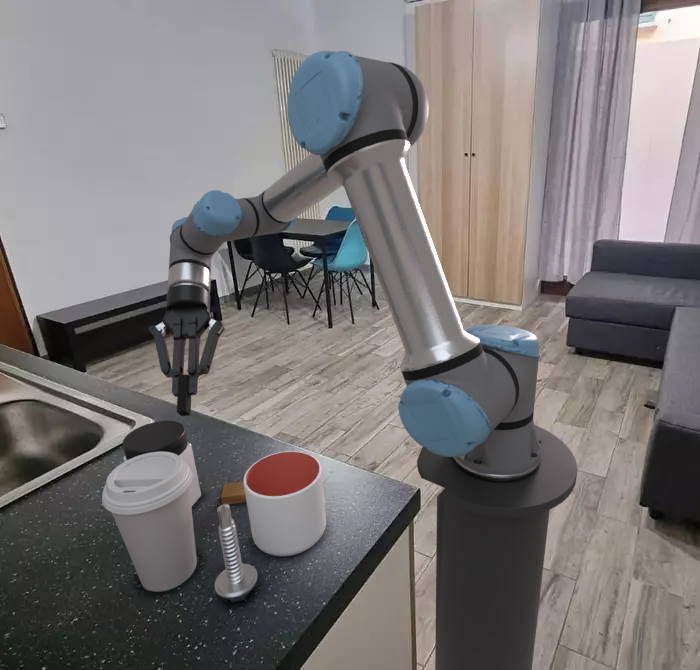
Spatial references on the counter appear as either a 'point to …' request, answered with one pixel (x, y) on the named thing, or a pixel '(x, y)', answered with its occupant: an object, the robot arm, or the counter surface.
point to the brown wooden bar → (233, 493)
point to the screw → (232, 562)
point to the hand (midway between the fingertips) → (183, 413)
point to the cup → (285, 502)
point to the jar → (163, 446)
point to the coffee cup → (154, 517)
